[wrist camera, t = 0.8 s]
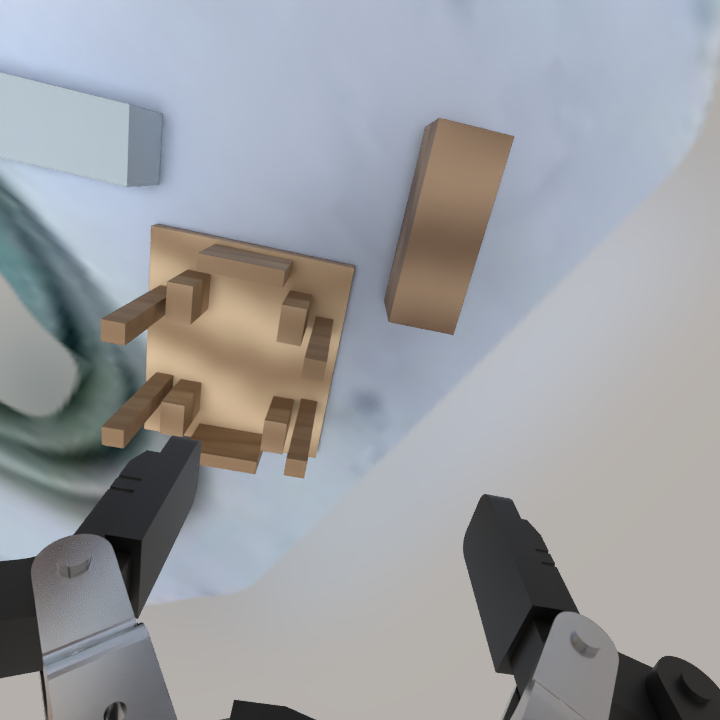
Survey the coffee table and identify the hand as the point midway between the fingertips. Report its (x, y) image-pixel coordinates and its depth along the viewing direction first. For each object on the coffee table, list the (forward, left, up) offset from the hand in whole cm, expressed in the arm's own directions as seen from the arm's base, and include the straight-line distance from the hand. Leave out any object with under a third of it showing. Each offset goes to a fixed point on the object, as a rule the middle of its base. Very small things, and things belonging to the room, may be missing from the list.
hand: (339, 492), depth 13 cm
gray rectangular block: (-7, -19, -20) cm, 29 cm away
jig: (+5, -7, -20) cm, 22 cm away
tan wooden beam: (-6, +4, -20) cm, 22 cm away
